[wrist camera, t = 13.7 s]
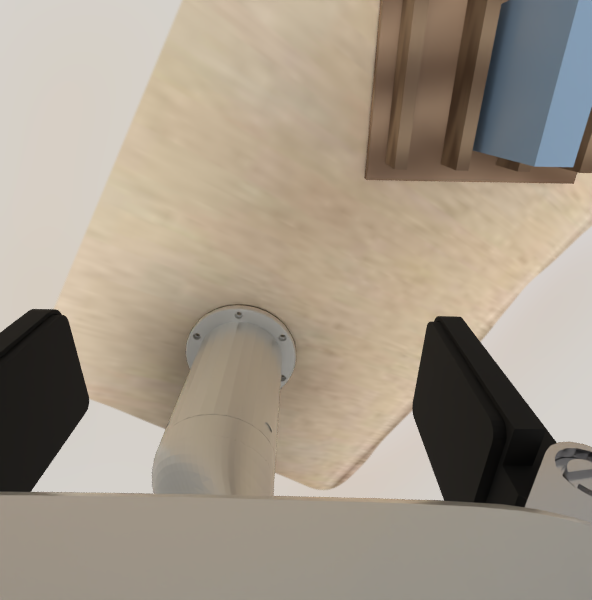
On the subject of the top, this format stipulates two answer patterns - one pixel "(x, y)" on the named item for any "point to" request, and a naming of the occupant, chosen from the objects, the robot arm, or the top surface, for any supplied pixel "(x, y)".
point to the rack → (441, 97)
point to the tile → (538, 83)
